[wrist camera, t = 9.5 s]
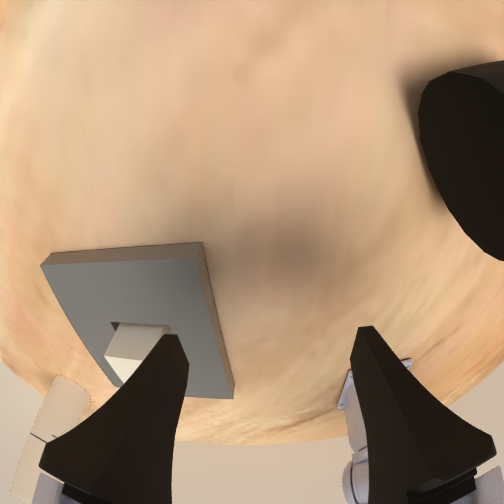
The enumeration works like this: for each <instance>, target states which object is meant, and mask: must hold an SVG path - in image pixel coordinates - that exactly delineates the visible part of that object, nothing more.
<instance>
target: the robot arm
mask: <svg viewBox="0 0 504 504" xmlns="http://www.w3.org/2000/svg"><path fill="white" fill-rule="evenodd" d="M350 362H351V369H352V370H350V371H349V372H348V375H347V378H346V381H345V384H344V387H343V390H342V393H341V396H340V399H339V401H338V404H337V409H344V411H345V417H346V423H347V429H348V436H349V442H350V446H351V448H352V450H353V451H354V452H355V453H354V454H352V461H350V462H348V464H347V466H346V467H345V469H344V472H343V477H342V483H343V492H344V495H345V498H346V500H347V502H348V504H504V481H503V477H502V473H501V468H500V466H497V467H495V468H493V469H492V470H490V471H488V472H487V473H485V474H484V475H482V476H480V477H478V478H475V479H474V476H475V475H476V474H477V470H476V467H478V466H480V465H481V464H483V463H484V462H486V461H488V460H489V459H491V458H492V457H494V456H495V455H496V453H497V452H496V449H495V445H494V442H493V439H492V436H491V435H489V434H487V433H485V432H483V431H481V430H479V429H478V428H476V427H474V426H472V425H471V424H469V423H468V422H466V421H464V420H463V419H461V418H460V417H459V416H457V415H456V414H454V413H453V412H452V411H451V410H449V409H448V408H447V407H446V406H444V405H443V404H442V403H441V402H440V401H438V400H437V399H436V398H435V397H434V396H433V395H432V394H431V393H430V392H429V391H428V390H427V389H426V388H425V387H424V386H423V385H422V384H421V383H420V382H419V381H418V380H417V379H416V378H415V377H414V376H413V375H412V374H411V372H410V371H409V369H410V367H411V365H412V363H413V361H412V359H409V360H404V361H400V359H399V358H398V357H397V356H396V355H395V353H394V352H393V351H392V350H391V348H390V347H389V346H388V344H387V343H386V342H385V341H384V339H383V338H382V337H381V335H380V334H379V333H378V331H377V330H376V329H375V328H374V327H373V326H365V327H358V331H357V335H356V338H355V342H354V346H353V349H352V353H351V357H350ZM189 365H190V364H189V362H188V359H187V357H186V354H185V352H184V350H183V347H182V345H181V342H180V340H179V337H178V335H177V334H163V335H162V337H161V338H160V339H159V341H158V342H157V343H156V344H155V346H154V347H153V348H152V350H151V351H150V352H149V354H148V355H147V356H146V358H145V359H144V360H143V361H142V363H141V364H140V365H139V366H138V368H137V369H136V370H135V371H134V373H133V374H132V375H131V376H130V377H129V378H128V380H127V381H126V382H125V383H124V384H123V385H122V386H121V388H120V389H119V390H118V391H117V392H116V393H115V394H114V395H113V396H112V397H111V398H110V399H109V400H108V401H107V402H106V403H105V404H104V405H103V406H101V407H100V408H99V409H98V410H97V411H96V412H94V413H93V414H92V415H91V416H90V417H88V418H87V419H86V420H84V421H83V422H82V423H80V424H79V425H77V426H76V427H74V428H73V429H71V430H70V431H68V432H67V433H65V434H63V435H61V436H59V437H57V438H56V439H54V440H52V441H50V442H48V443H46V445H45V447H44V450H43V453H42V456H41V459H40V462H39V465H38V466H39V468H41V469H42V470H44V471H45V472H47V473H49V474H50V475H52V476H54V477H56V478H57V479H59V480H61V481H63V482H64V484H63V483H61V482H59V481H57V480H55V479H53V478H51V477H49V476H48V475H46V474H44V473H42V472H41V473H40V475H39V478H38V482H37V485H36V489H35V492H34V496H33V500H32V504H172V495H171V493H172V492H171V482H172V479H171V478H172V460H173V448H174V440H175V433H176V428H177V424H178V420H179V416H180V412H181V408H182V404H183V400H184V396H185V392H186V388H187V382H188V374H189Z"/></svg>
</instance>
